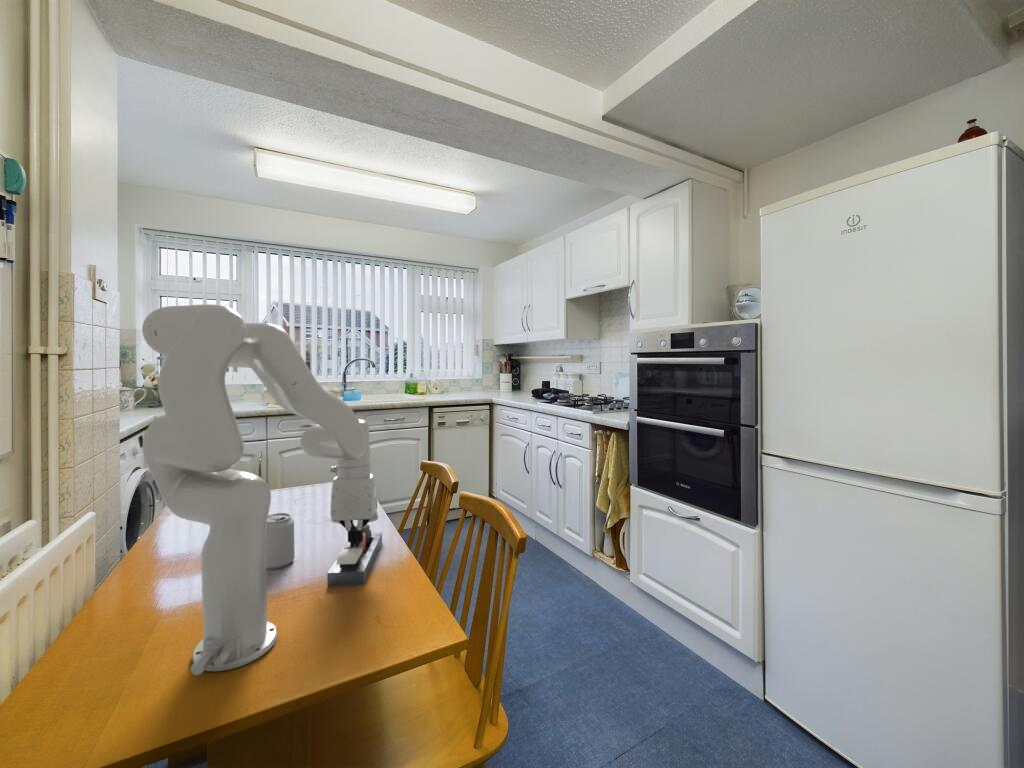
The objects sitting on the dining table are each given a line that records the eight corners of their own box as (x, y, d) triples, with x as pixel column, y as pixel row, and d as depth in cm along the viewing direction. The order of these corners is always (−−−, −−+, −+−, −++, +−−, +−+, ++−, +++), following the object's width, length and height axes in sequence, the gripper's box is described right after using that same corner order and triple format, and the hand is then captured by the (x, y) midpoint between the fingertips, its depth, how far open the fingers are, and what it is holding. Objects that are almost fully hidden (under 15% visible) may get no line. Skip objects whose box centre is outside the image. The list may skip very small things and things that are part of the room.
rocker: (355, 563, 99) (355, 556, 99) (336, 564, 98) (337, 557, 98) (362, 552, 106) (362, 545, 106) (345, 552, 105) (345, 546, 105)
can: (280, 572, 104) (279, 523, 103) (253, 568, 105) (252, 520, 105) (301, 558, 111) (300, 512, 110) (275, 555, 113) (274, 509, 112)
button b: (368, 546, 113) (368, 529, 113) (353, 546, 113) (353, 529, 112) (371, 540, 117) (370, 523, 116) (357, 540, 116) (357, 524, 116)
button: (363, 555, 108) (363, 537, 108) (348, 555, 108) (348, 538, 107) (366, 549, 112) (366, 531, 111) (352, 549, 111) (352, 532, 111)
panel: (364, 584, 99) (363, 567, 99) (327, 585, 98) (327, 568, 98) (382, 543, 121) (382, 529, 120) (352, 544, 120) (352, 530, 120)
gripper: (315, 476, 100) (318, 553, 102) (383, 474, 102) (384, 550, 103) (325, 467, 107) (328, 539, 109) (388, 465, 109) (389, 536, 111)
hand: (355, 544), depth 106 cm, fingers closed
